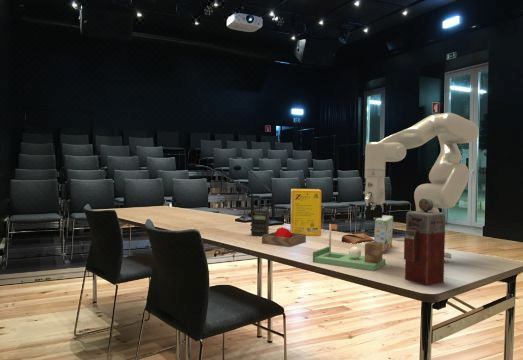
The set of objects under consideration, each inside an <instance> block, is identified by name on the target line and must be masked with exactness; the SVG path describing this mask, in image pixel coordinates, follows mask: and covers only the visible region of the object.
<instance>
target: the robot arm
mask: <svg viewBox="0 0 523 360" xmlns="http://www.w3.org/2000/svg"><path fill="white" fill-rule="evenodd" d="M435 137H437V138H438V141H439V145H440V153H439V155H438V157H437V159H436V160H435V162H434V163H433V164H434V165H432V167H431V169H430V171H429V174H428V179H429V182H430V183H422V184H420V185H418V186H417V187H416V188H415V191H414V193H413V194H414V195H413V198H414V203H415V211H422V210H421V209H420V208H419V201H420V200H421V199H424V198H429V199H431V200H432V202H433V208H432V209H431V210H430V211H432V212H440V210H439V209H446V210H447V209H452V208H453V207H455V206H456V204H457V202H458V201H459V200H460V198H461V196H462V194H463V193H464V191H465V188H466V187H467V186H468V182H469V179H470V170H469V168H468V166H467V165H466V164H464V163H461V159H462V153H461V151H460V149H459V146H458V145H457V144H469V143H474V141H476V140H477V139H478V137H479V128H478V126H477V125H476V124H475V123H474V122H473V121H471V120H469V119H466V118H465V117H463V116H462V115H461V116H460V115H458V114H456V113H453V112H444V113H436V114H431V115H428V116H427V117H425V118H423V119H422V120H420V121H418V122H417V123H415V124H413V125H412V126H410V127H408V128H405V129H402V130H401V131H398V132H396V133H393V134H391V135H389V136H386V137H385V138H383V139H381V140H380V141H371V142H366V144H365V148H364V149H365V151H364V153H365V156H364V159H365V161H364V178H365V180H366V181H365V188H364V189H365V191H364V201H365V202H364V209H365V212H364V220H365V221H375V220H374V219H375V218H376V219H377V218H382V216H383V205H384V204H385V202H386V195H385V194H386V192H385V191H386V190H385V189H386V188H385V179H386V162H388V163H389V162H390V163H391V162H392V163H395V162H396V163H397V162H400V161H402V160H403V159H405V157H406V155H407V150H410V149H414V148H418V147H420V146H423V145H424V144H426V143H427V142H429V141H430V140H432V139H433V138H435ZM445 258H446V259H452V253H449V252H444V259H445Z"/></svg>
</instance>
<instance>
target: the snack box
mask: <svg viewBox="0 0 523 360" xmlns="http://www.w3.org/2000/svg"><path fill="white" fill-rule="evenodd" d="M393 225H394V216H393V215H387V214H385V215H383V214H382V218H376V219H375V220H374V236H373V237H374V241H373V242H380V243H383V255H385V254H386V253H387V251H389V250H390V249H391V248H392V247H393Z"/></svg>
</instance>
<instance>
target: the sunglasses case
mask: <svg viewBox="0 0 523 360" xmlns="http://www.w3.org/2000/svg"><path fill="white" fill-rule="evenodd" d="M370 241H371V242H374V239H373V238H372V237H370V236H369V235H367V234H366V233H365V232H362V233H354V234H345V235H343V236H342V237H341V243H344V242H345V243H346V244H350V243H352V244H351V245H358V244H363V243H362V242H364V243H368V242H370ZM345 243H344V244H345ZM357 243H358V244H357Z"/></svg>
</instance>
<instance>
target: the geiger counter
mask: <svg viewBox="0 0 523 360" xmlns="http://www.w3.org/2000/svg"><path fill="white" fill-rule="evenodd" d="M250 213H251V215H250V216H251V218H250V219H251V220H250V221H251V222H250V226H251V227H250V231H251V234H250V236H251V237H261V238H262V235H265V234H269V233H270V231H269V229H270V227H269V226H270V211H269V209H268V208H266V210H255V208H254V207H252V210H251V212H250Z"/></svg>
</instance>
